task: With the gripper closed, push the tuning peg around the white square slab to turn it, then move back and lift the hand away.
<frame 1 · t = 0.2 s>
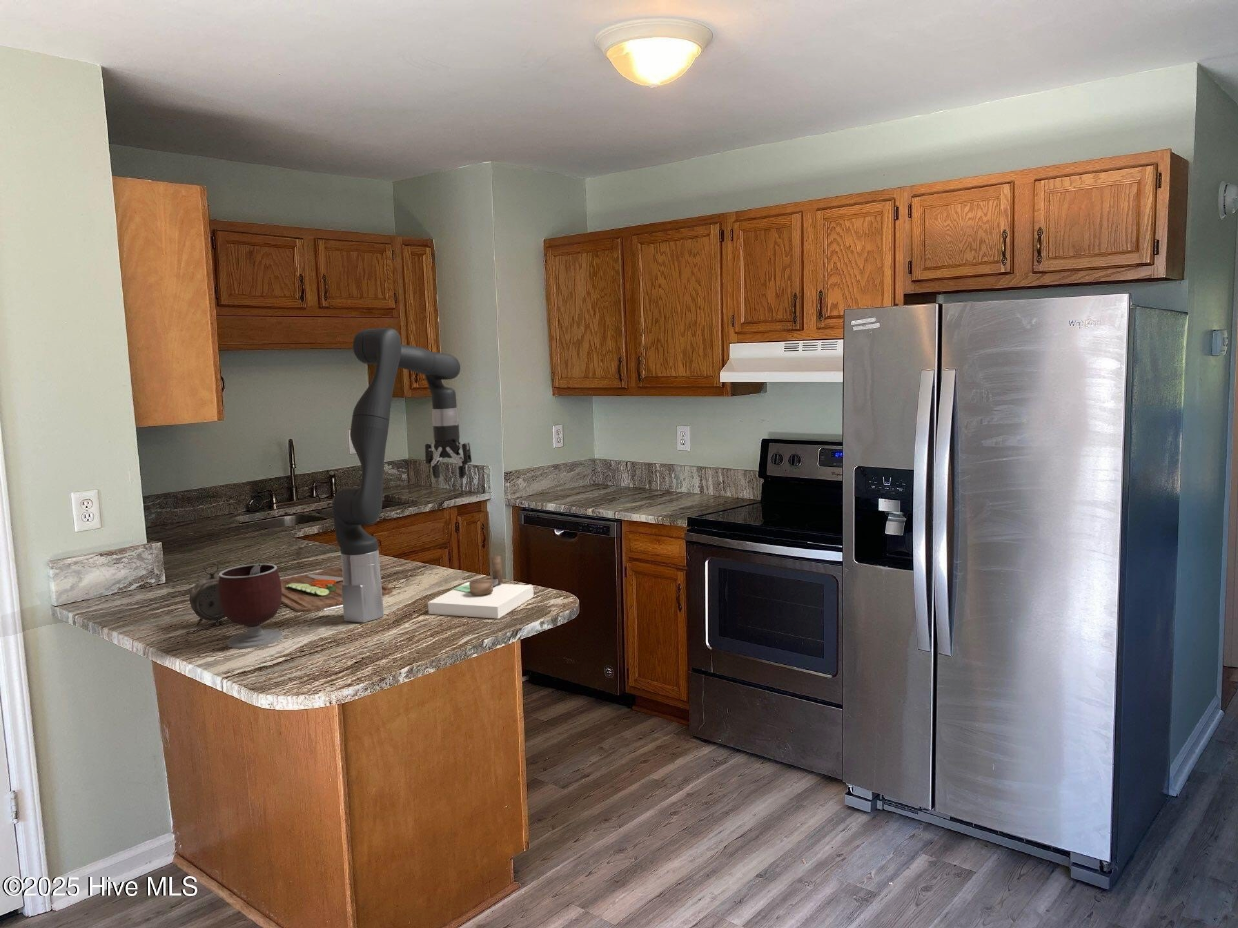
hand: (449, 478, 269), 29 cm above the counter, fingers open, 8 cm apart
mate gourd: (256, 641, 216), on the counter
chopping board: (323, 591, 262), on the counter
alarm clock: (217, 624, 232), on the counter
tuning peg: (487, 574, 240), point 7 cm above the counter, hinge at 0.0°
white square slab: (482, 604, 237), on the counter
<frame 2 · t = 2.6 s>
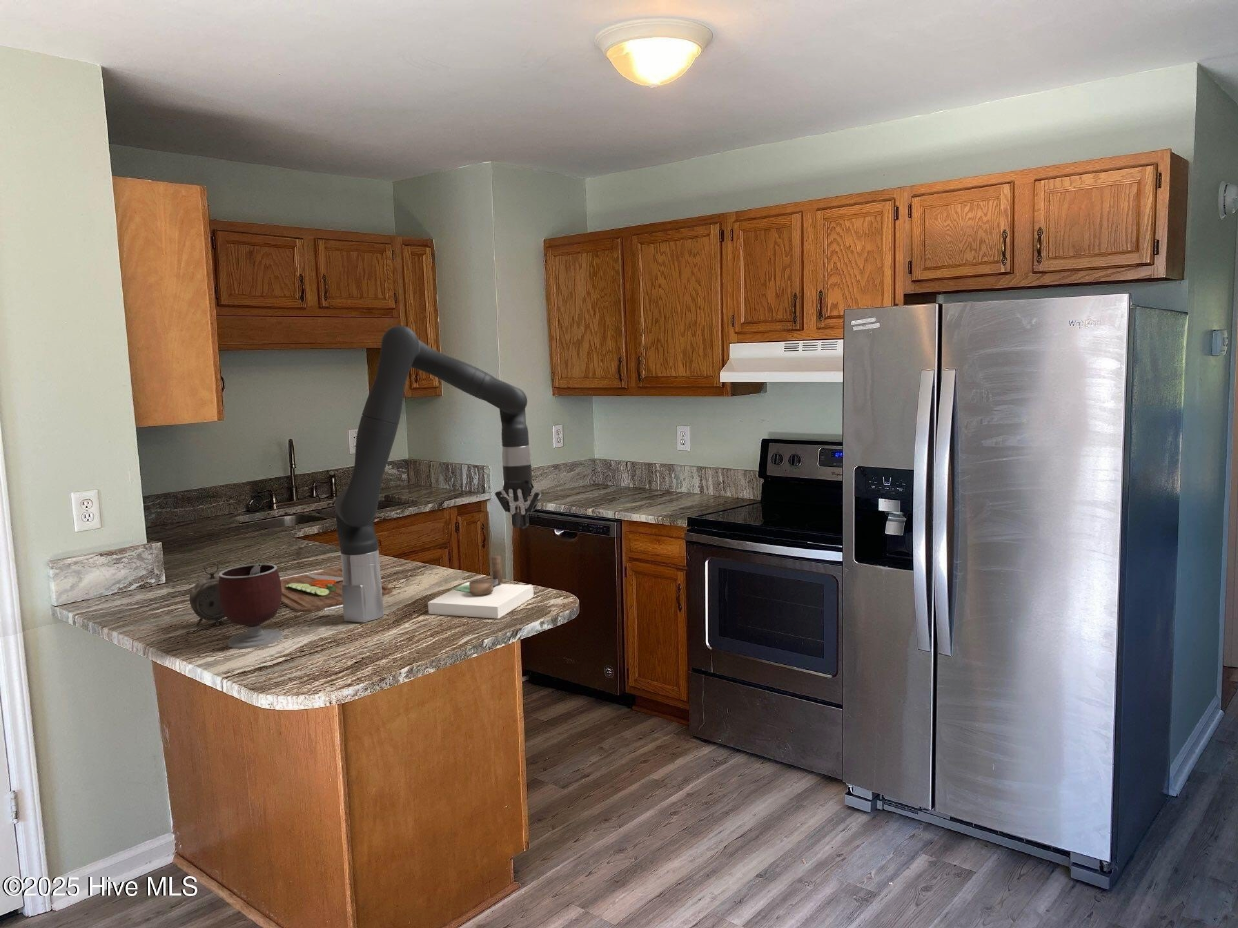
hand: (520, 527, 240), 19 cm above the counter, fingers closed
nothing on the counter moved.
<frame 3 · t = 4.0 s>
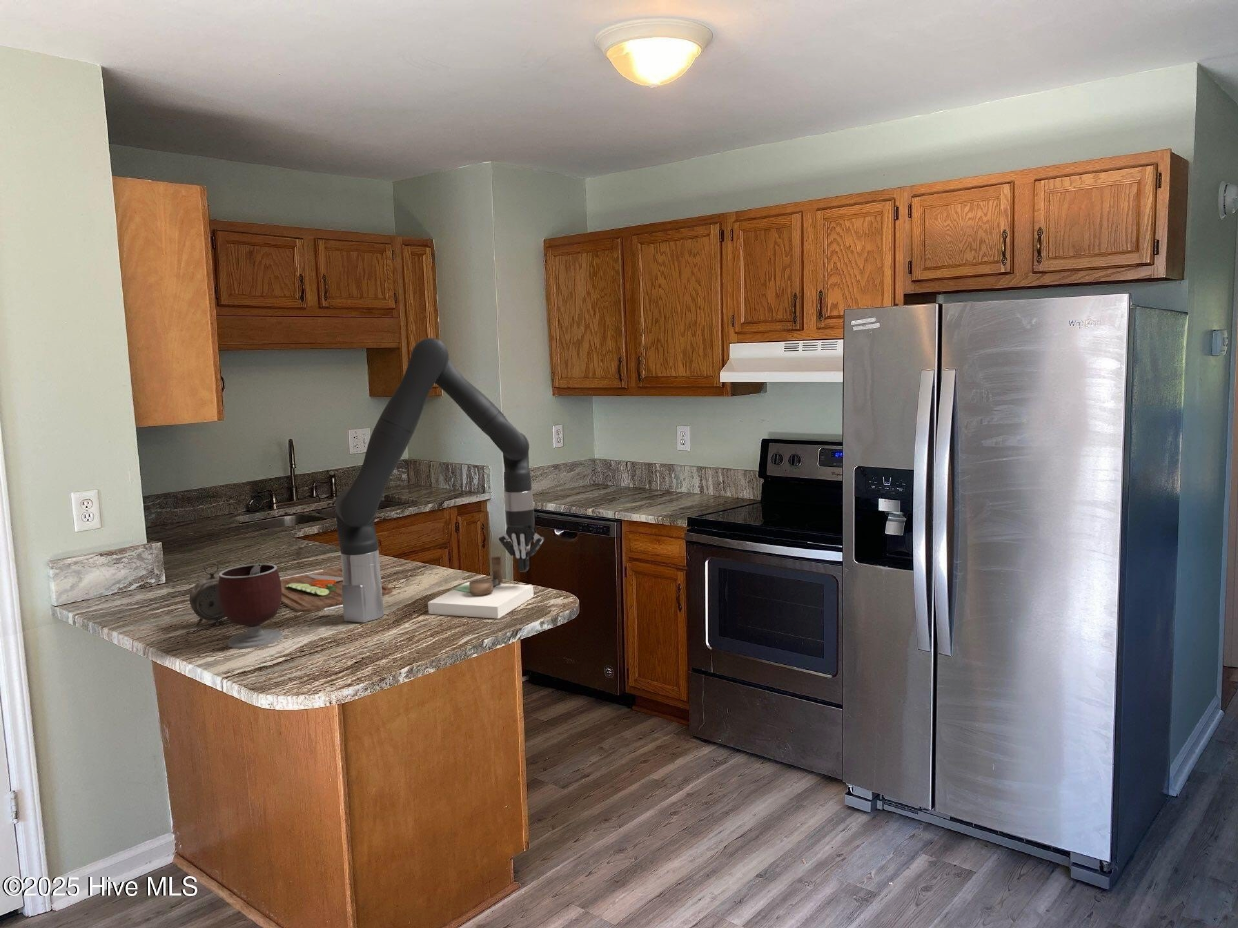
hand: (523, 571, 242), 7 cm above the counter, fingers closed
nothing on the counter moved.
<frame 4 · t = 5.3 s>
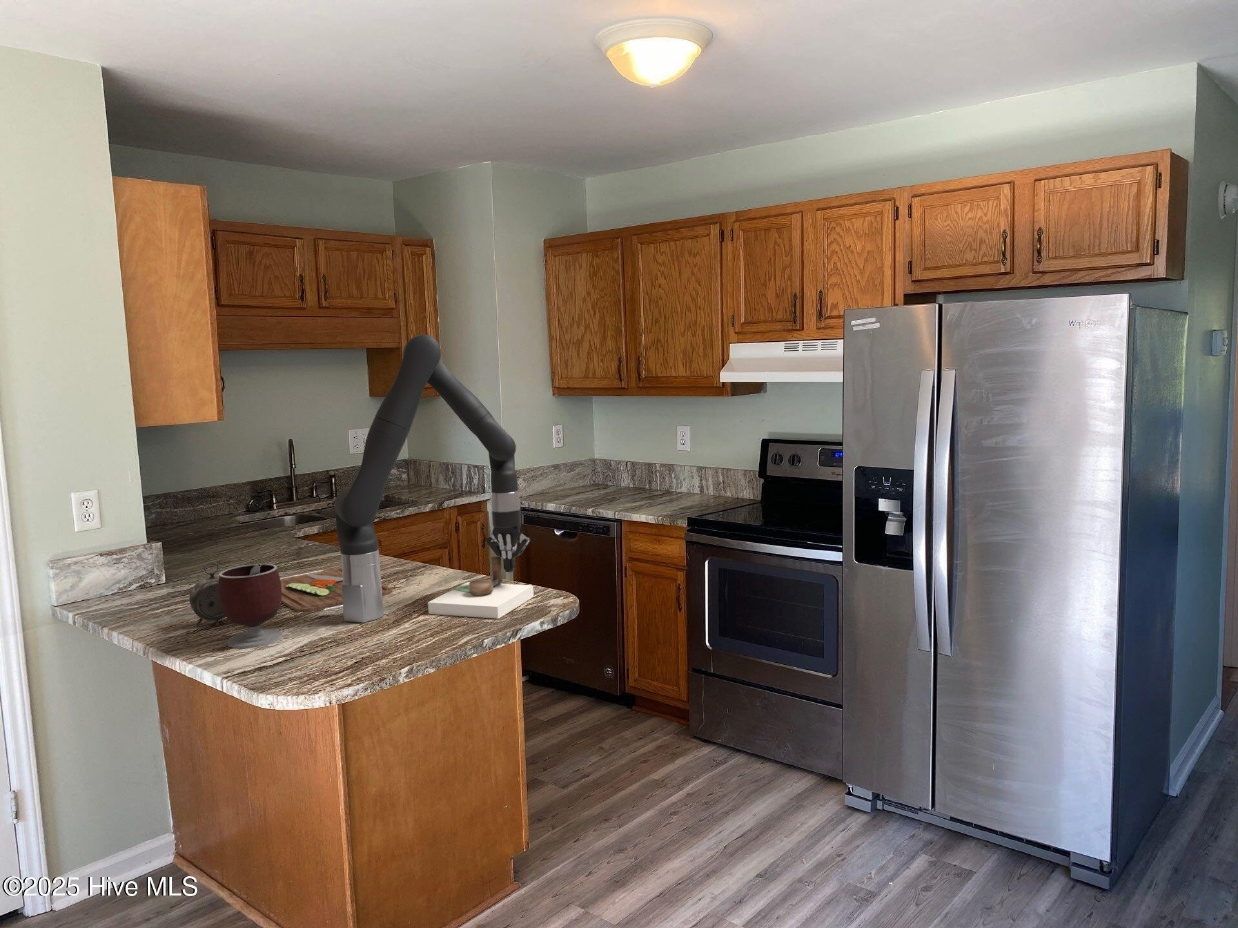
hand: (509, 571, 243), 7 cm above the counter, fingers closed
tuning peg: (487, 574, 240), point 7 cm above the counter, hinge at 0.1°, touching gripper
everything else where it was.
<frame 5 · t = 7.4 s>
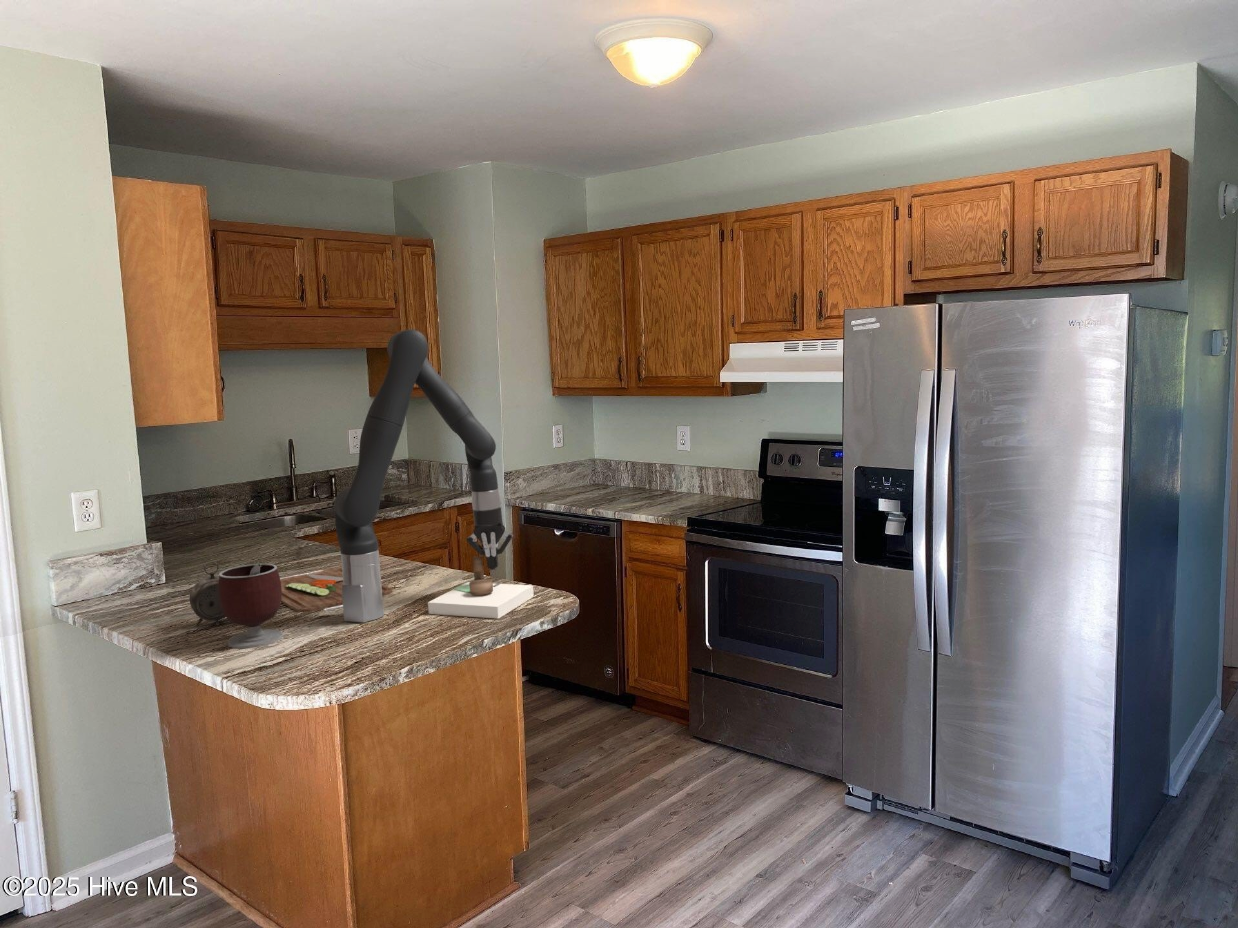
hand: (493, 569, 245), 7 cm above the counter, fingers closed
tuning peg: (479, 574, 240), point 7 cm above the counter, hinge at 32.8°, touching gripper
everything else where it was.
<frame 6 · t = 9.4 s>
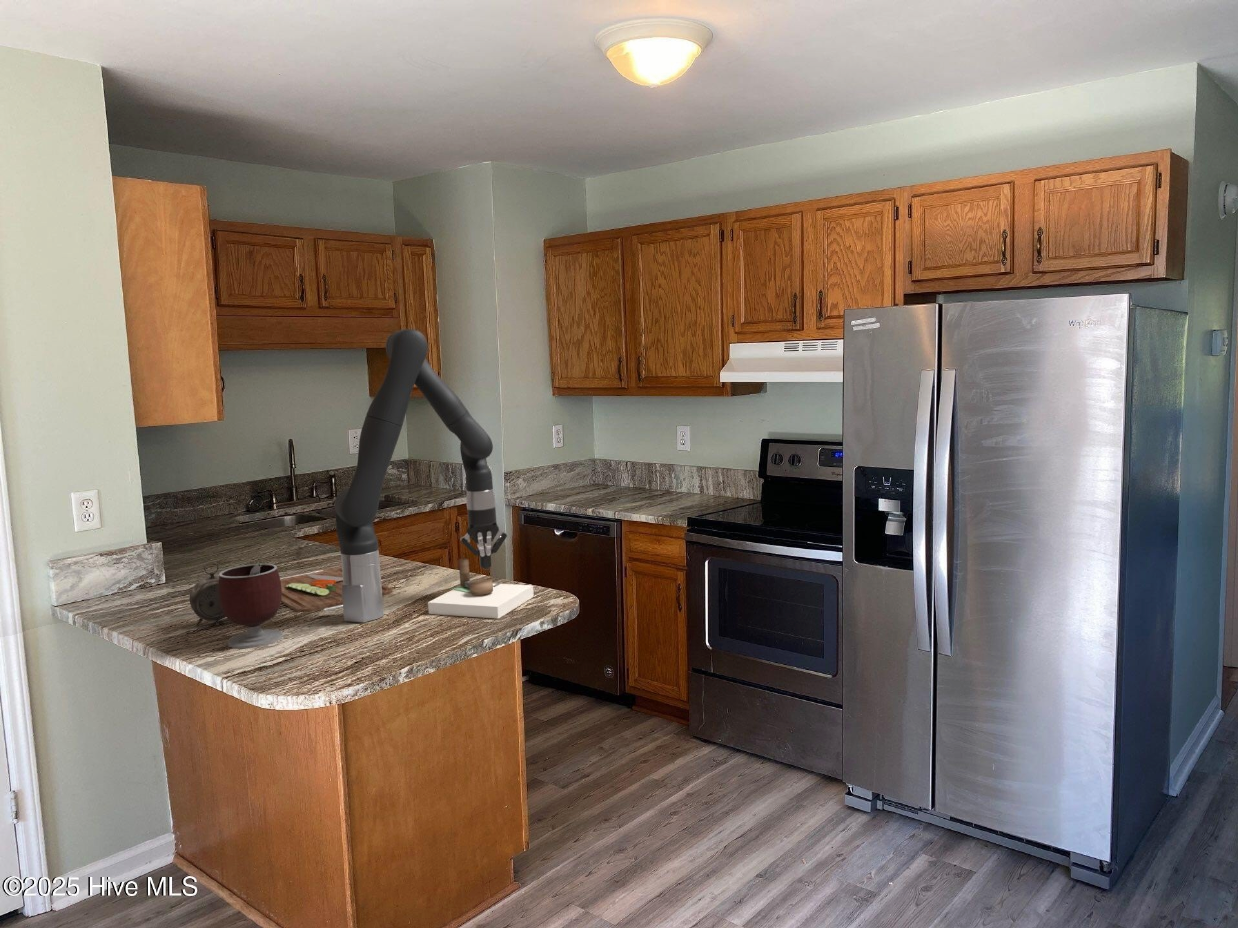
hand: (486, 568, 246), 7 cm above the counter, fingers closed
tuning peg: (473, 575, 239), point 7 cm above the counter, hinge at 57.8°
everything else where it was.
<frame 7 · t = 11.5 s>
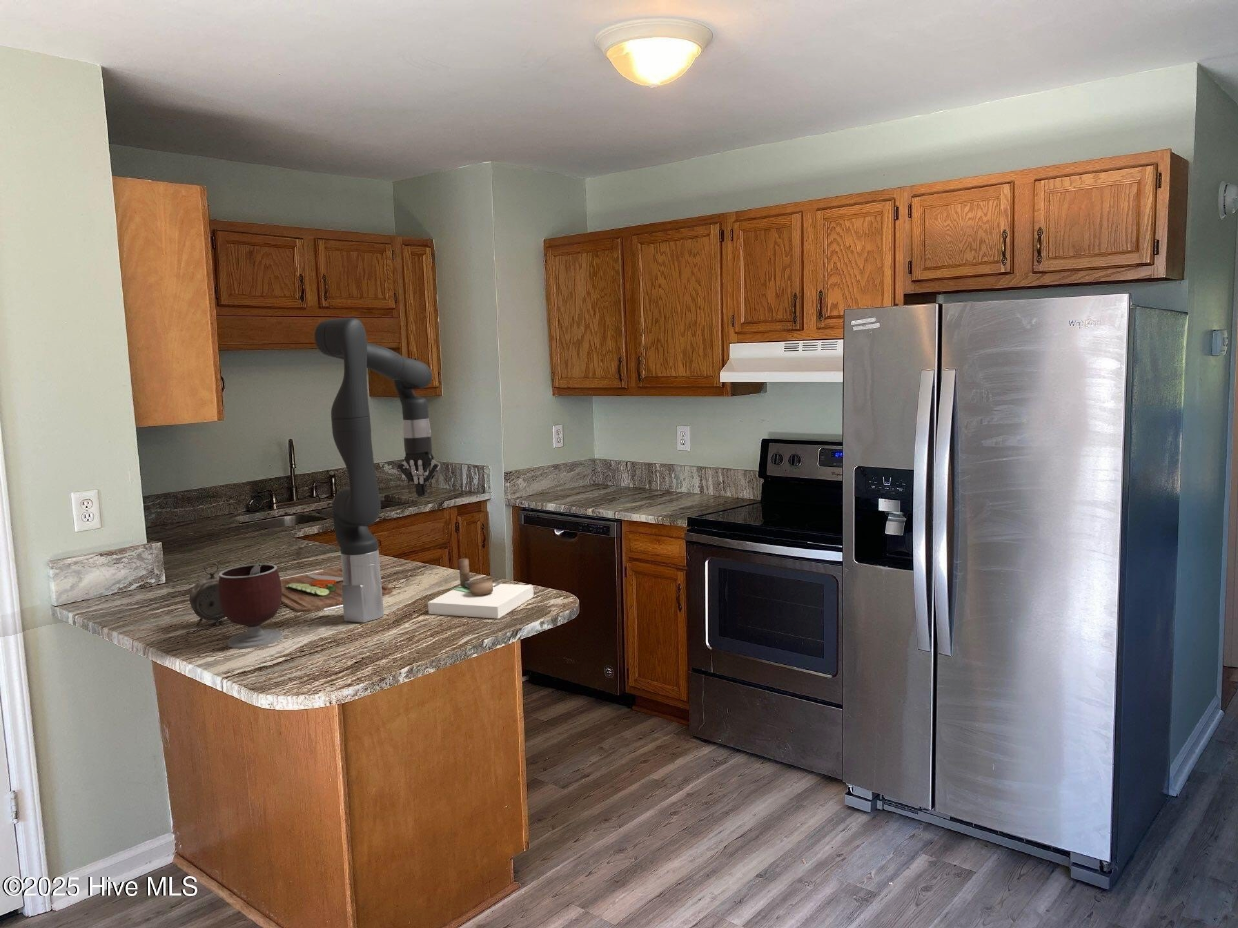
hand: (422, 496, 255), 26 cm above the counter, fingers closed
nothing on the counter moved.
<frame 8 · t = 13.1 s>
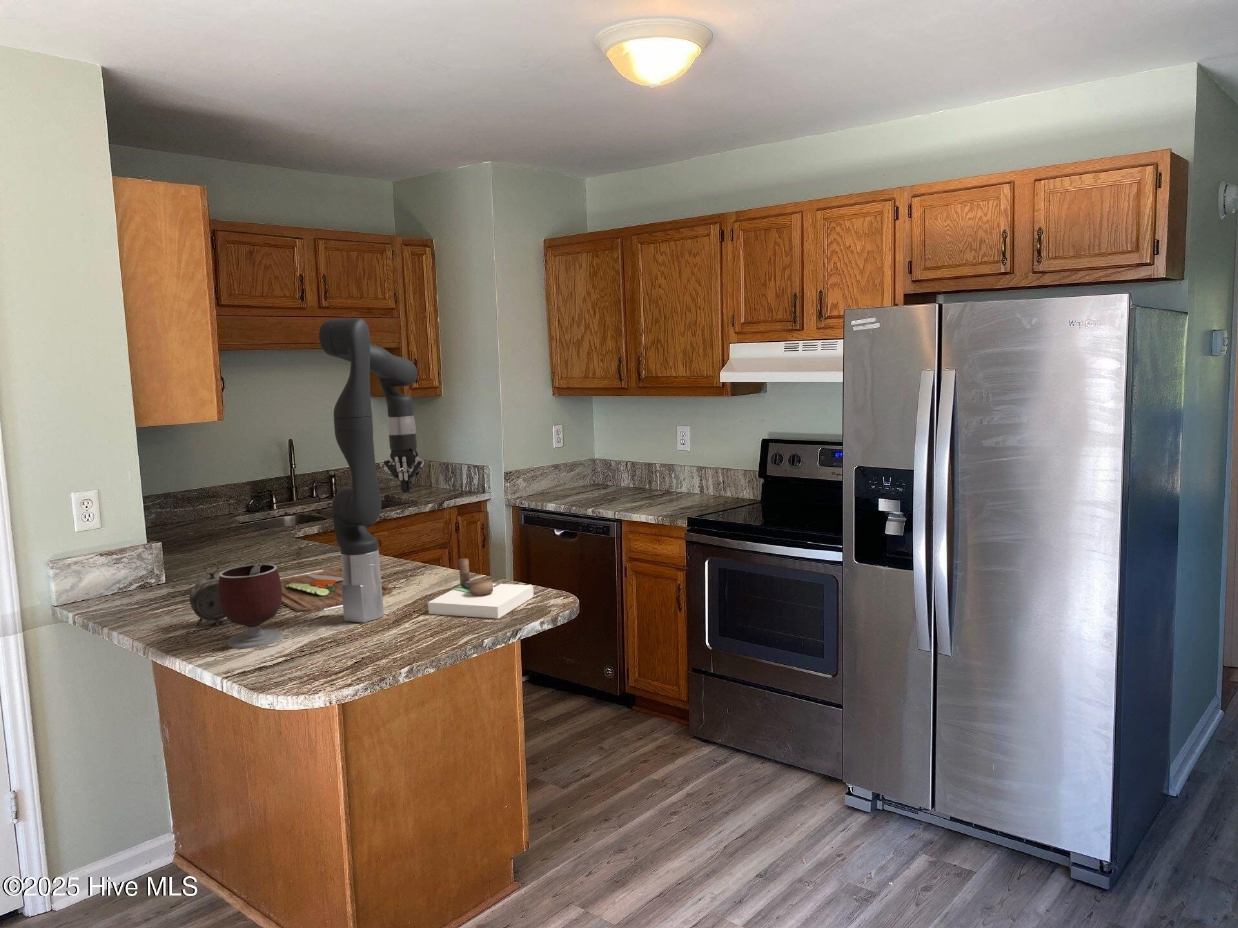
hand: (407, 492, 257), 27 cm above the counter, fingers closed
nothing on the counter moved.
at the end: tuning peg at +58° (first picture: +0°); the gripper is holding nothing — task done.
